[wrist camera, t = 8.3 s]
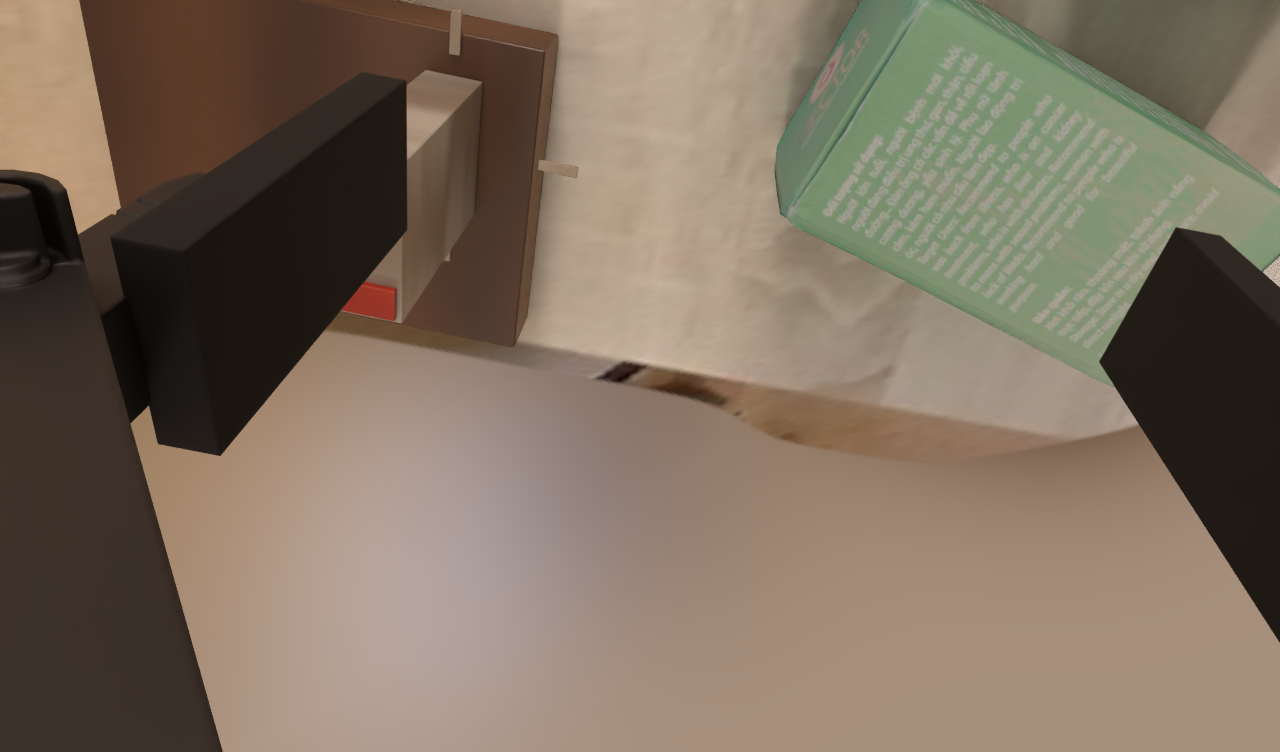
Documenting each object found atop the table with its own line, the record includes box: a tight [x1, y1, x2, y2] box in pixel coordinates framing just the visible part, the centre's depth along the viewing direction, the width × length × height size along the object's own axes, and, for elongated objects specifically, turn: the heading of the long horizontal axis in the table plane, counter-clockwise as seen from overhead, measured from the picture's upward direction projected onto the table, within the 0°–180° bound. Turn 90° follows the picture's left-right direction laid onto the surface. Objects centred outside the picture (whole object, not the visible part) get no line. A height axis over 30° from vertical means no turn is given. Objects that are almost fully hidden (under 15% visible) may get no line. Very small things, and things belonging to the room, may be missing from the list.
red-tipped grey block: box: [341, 70, 483, 323], centre depth 26 cm, size 5×2×8 cm, turn 170°
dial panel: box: [79, 0, 578, 347], centre depth 31 cm, size 18×13×3 cm
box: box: [775, 0, 1280, 387], centre depth 27 cm, size 7×14×8 cm, turn 65°
